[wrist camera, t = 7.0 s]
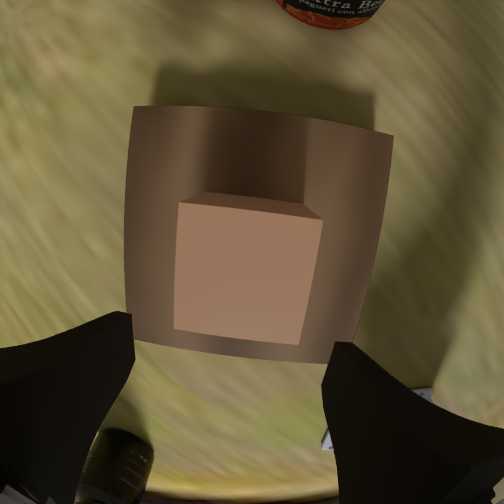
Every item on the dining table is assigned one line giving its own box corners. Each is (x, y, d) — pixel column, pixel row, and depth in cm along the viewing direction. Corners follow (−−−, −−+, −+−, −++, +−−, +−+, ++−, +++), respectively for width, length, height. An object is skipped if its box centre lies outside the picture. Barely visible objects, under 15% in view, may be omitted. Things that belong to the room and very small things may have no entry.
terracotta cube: (303, 203, 15) (323, 220, 10) (288, 294, 16) (298, 344, 11) (205, 191, 15) (178, 202, 10) (198, 283, 16) (173, 328, 11)
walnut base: (374, 140, 16) (393, 135, 14) (335, 340, 20) (345, 364, 17) (152, 115, 16) (133, 106, 14) (144, 317, 20) (128, 338, 17)
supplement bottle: (122, 461, 26) (92, 534, 15) (89, 426, 25) (46, 502, 13) (167, 462, 26) (143, 547, 14) (134, 425, 24) (93, 518, 12)
